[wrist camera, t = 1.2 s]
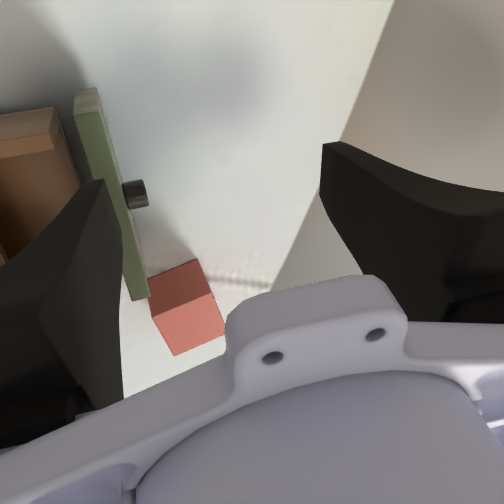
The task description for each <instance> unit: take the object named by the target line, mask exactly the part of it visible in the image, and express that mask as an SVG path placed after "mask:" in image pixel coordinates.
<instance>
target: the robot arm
mask: <svg viewBox="0 0 504 504" xmlns="http://www.w3.org/2000/svg"><path fill="white" fill-rule="evenodd" d="M319 195H320V198H321V201H322V203H323V206H324V208H325V210H326V213H327V215H328V217H329V219H330V220H331V222H332V224H333V225H334V227H335V229H336V230H337V232H338V233H339V235H340V236H341V238H342V240H343V241H344V243H345V244H346V246H347V248H348V249H349V251H350V252H351V254H352V255H353V257H354V258H355V260H356V262H357V263H358V265H359V267H360V269H361V270H362V272H363V275H349V276H344V277H339V278H334V279H329V280H324V281H319V282H314V283H310V284H305V285H300V286H295V287H290V288H286V289H281V290H275V291H270V292H265V293H261V294H259V295H256V296H254V297H251V298H249V299H246V300H244V301H242V302H241V303H240V304H239V305H238V306H237V307H236V308H235V309H234V310H233V311H232V312H231V313H230V314H228V316H227V320H226V324H225V328H224V333H225V339H226V351H225V353H224V354H223V355H220V356H218V357H216V358H214V359H211V360H209V361H207V362H205V363H203V364H200V365H198V366H196V367H194V368H192V369H189V370H187V371H185V372H183V373H181V374H178V375H176V376H174V377H172V378H170V379H167V380H165V381H163V382H161V383H158V384H156V385H154V386H152V387H150V388H147V389H145V390H143V391H141V392H139V393H136V394H134V395H132V396H130V397H128V398H125V399H124V395H123V383H122V370H121V354H120V335H119V304H120V292H121V279H122V265H123V244H122V232H121V227H120V224H119V221H118V218H117V215H116V212H115V209H114V206H113V203H112V200H111V197H110V194H109V191H108V188H107V185H106V182H105V179H104V178H103V179H97V180H91V181H84V183H83V184H82V185H81V186H80V187H79V189H78V190H77V191H76V192H75V194H74V195H73V196H72V198H71V199H70V200H69V201H68V203H67V204H66V205H65V206H64V208H63V209H62V210H61V211H60V213H59V214H58V215H57V216H56V217H55V218H54V219H53V220H52V222H51V223H50V224H49V225H48V226H47V227H46V228H45V229H44V230H43V231H42V232H41V233H40V234H39V235H38V236H37V237H36V238H35V239H34V240H33V241H32V242H31V243H30V244H29V245H28V246H26V247H25V248H24V249H23V250H22V251H21V252H19V253H18V254H17V255H16V256H15V257H13V258H12V259H10V260H9V261H8V262H6V263H5V264H4V265H2V266H1V267H0V504H504V192H498V191H490V190H483V189H477V188H471V187H466V186H461V185H456V184H451V183H447V182H443V181H440V180H436V179H433V178H429V177H426V176H423V175H419V174H417V173H414V172H411V171H408V170H406V169H403V168H401V167H398V166H396V165H393V164H391V163H389V162H386V161H384V160H382V159H380V158H377V157H375V156H373V155H371V154H369V153H367V152H364V151H362V150H360V149H358V148H356V147H353V146H351V145H349V144H347V143H344V142H341V141H339V142H332V143H326V144H323V148H322V162H321V177H320V191H319Z"/></svg>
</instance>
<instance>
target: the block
mask: <svg viewBox="0 0 504 504" xmlns="http://www.w3.org/2000/svg"><path fill="white" fill-rule="evenodd" d="M148 282H149V286H150V291H151V297H148V301H149V306H150V311H151V316H152V319H153V321H154V322H155V324H156V326H157V328H158V329H159V331H160V333H161V335H162V336H163V338H164V340H165V341H166V343H167V345H168V347H169V348H170V350H171V352H172V354H173V355H174V356H177V355H179V354H181V353H183V352H186V351H188V350H190V349H193V348H195V347H197V346H199V345H202V344H204V343H206V342H208V341H211V340H213V339H215V338H218V337H220V336H222V335H224V334H225V333H224V328H225V323H224V321H223V318H222V316H221V313H220V311H219V309H218V306H217V304H216V301H215V299H214V296H213V294H212V292H211V289H210V287H209V285H208V282H207V280H206V277H205V275H204V273H203V270H202V268H201V265H200V263H199V261H198V259H196V260H194V261H191V262H189V263H186V264H184V265H181V266H179V267H176V268H174V269H172V270H169V271H167V272H164V273H162V274H159V275H157V276H155V277H152V278H150V279H148Z"/></svg>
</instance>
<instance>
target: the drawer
mask: <svg viewBox="0 0 504 504" xmlns="http://www.w3.org/2000/svg"><path fill="white" fill-rule="evenodd" d="M73 119H74V122H75V126H76V129H77V132H78V135H79V138H80V141H81V144H82V147H83V151H84V154H85V157H86V160H87V163H88V166H89V169H90V172H91V175H92V179H93V180H97V179H103V178H104V179H105V182H106V185H107V188H108V191H109V194H110V197H111V200H112V203H113V206H114V209H115V212H116V215H117V218H118V221H119V224H120V227H121V232H122V244H123V265H122V272H123V275H124V279H125V282H126V285H127V288H128V291H129V294H130V297H131V300H132V301H137V300H140V299H144V298H148V297H151V291H150V286H149V282H148V277H147V273H146V268H145V263H144V259H143V254H142V250H141V246H140V243H139V239H138V235H137V232H136V228H135V224H134V221H133V217H132V214H131V210H132V209H137V208H142V207H146V206H149V201H148V197H147V193H146V189H145V185H144V182H143V180H142V179H140V180H135V181H130V182H125V183H123V181H122V177H121V174H120V170H119V167H118V163H117V159H116V156H115V152H114V148H113V145H112V141H111V138H110V134H109V130H108V127H107V123H106V119H105V116H104V112H103V109H102V105H101V101H100V98H99V94H98V91H97V88H96V87H94V88H87V89H80V90H75V93H74V107H73ZM80 186H81V182H80V180H79V177H78V174H77V171H76V168H75V165H74V162H73V159H72V156H71V153H70V150H69V147H68V144H67V141H66V138H65V135H64V132H63V130H62V127H61V124H60V121H59V118H58V115H57V112H56V109H55V107H54V106H52V107H46V108H39V109H33V110H26V111H20V112H14V113H7V114H1V115H0V243H1V245H2V247H3V249H4V251H5V253H6V255H7V257H8V259H9V260H10V259H12V258H13V257H15V256H16V255H17V254H18V253H19V252H21V251H22V250H23V249H24V248H25V247H26V246H28V245H29V244H30V243H31V242H32V241H33V240H34V239H35V238H36V237H37V236H38V235H39V234H40V233H41V232H42V231H43V230H44V229H45V228H46V227H47V226H48V225H49V224H50V223H51V222H52V220H53V219H54V218H55V217H56V216H57V215H58V214H59V213H60V211H61V210H62V209H63V208H64V206H65V205H66V204H67V203H68V201H69V200H70V199H71V198H72V196H73V195H74V194H75V192H76V191H77V190H78V189H79V187H80Z"/></svg>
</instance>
